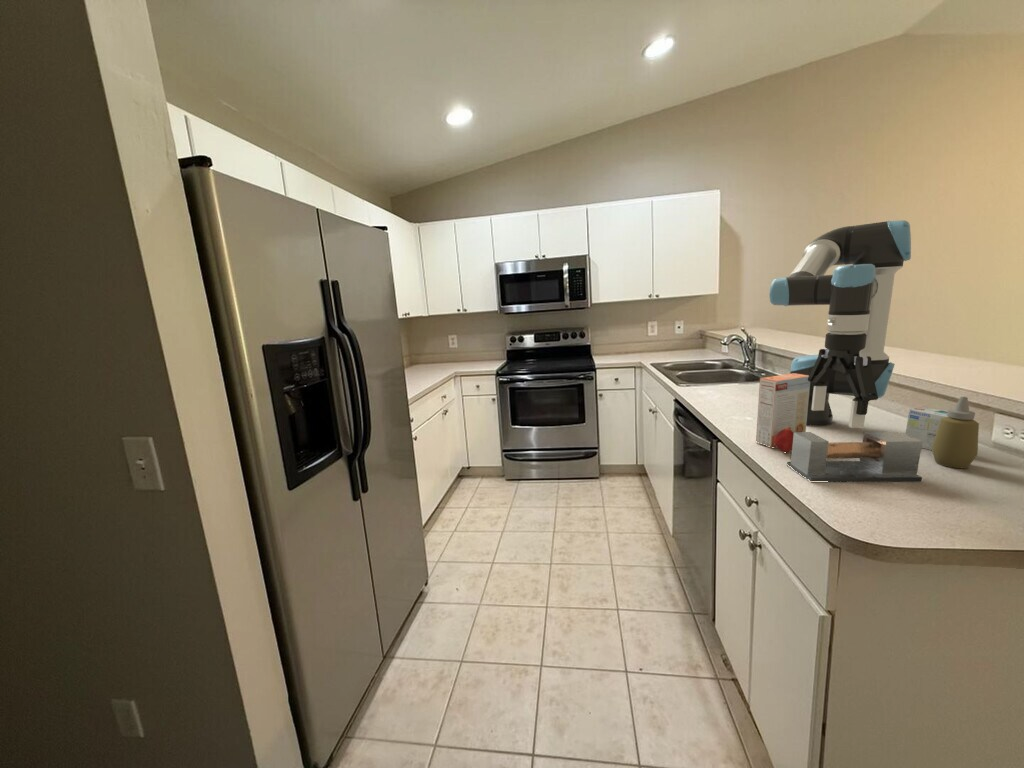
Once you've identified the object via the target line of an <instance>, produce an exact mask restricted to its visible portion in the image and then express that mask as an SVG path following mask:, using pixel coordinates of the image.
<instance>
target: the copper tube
mask: <svg viewBox="0 0 1024 768" xmlns="http://www.w3.org/2000/svg"><path fill="white" fill-rule="evenodd" d="M881 445H882V444H881V443H878V442H862V441H851V442H849V441H848V442H847V441H846V442H842V441H841V442H838V441H837V442H829V443H828V451H827V459H826V460H832V459H834V460H835V459H836V460H838V459H839V460H840V459H842V460H843V459H848V460H849V459H850V460H851V459H860V458H880V451H881Z"/></svg>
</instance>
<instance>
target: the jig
mask: <svg viewBox="0 0 1024 768" xmlns="http://www.w3.org/2000/svg"><path fill="white" fill-rule="evenodd" d="M905 434H906V433H905ZM905 434H904V433H902V432H900V431H867V432H866V431H864V432H863V435H862V441H861V442H878V443H881V444H882V445H881V451H880V458H859V460H830V461H828V459H827V451H828V443H830V442H829V440H827V439H825V438H824V437H821V436H819V435H817V434H815V433H813V432H811V431H806V432H794V436H793V445H792V451H791V456H790V457H791V458H790V461H787V462H786V465H787V464H788V465H789V466H791V467H792V468H793V469H794V470H795V471H797V472H798V473H800V474H801V475H802V476H804V477H806V478H807V479H809V480H810V481H828V482H827V483H920V482H921V483H922V482H923V476H921V475H920V474H918V469H919V464H920V458H921V454H922V453H921V451H922V448H921V447H922V442H923V441H921V440H918V439H915V438H913V437H910V436H907V435H905ZM794 470H793V471H794ZM795 471H794V472H795ZM798 473H797V474H798ZM801 475H800V476H801ZM802 476H801V477H802ZM804 477H803V478H804Z"/></svg>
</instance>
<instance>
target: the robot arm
mask: <svg viewBox="0 0 1024 768" xmlns="http://www.w3.org/2000/svg"><path fill="white" fill-rule="evenodd" d="M911 258H912V234H911V224H910V222H909V221H908V220H903V219H901V220H887V221H881V222H872V223H871V222H870V223H866V224H859V225H858V224H857V225H850V226H849V225H848V226H842V227H838V228H834V229H832V230H830V231H827V232H825V233H824V234H821V235H820V236H818V237H817V238H815V239H814V240H812V241H811V242H809V244H807V246H806V247H805V249H804V250H803V252H802V258H801V260H799V262H798V264H797V265H795V268H794V269H793V270H792V271H791V273H790V274H789V276H783V277H778V278H774V279H773V280H772V281H771V283H770V285H769V294H768V295H769V302H770V304H771V305H773V306H784V307H788V306H821V305H822V306H827V305H829V307H828V313H827V314H828V316H827V327H826V330H827V333H826V334H825V341H824V348H820V349H819V350H818V354H810V355H809V354H808V355H802V356H797V357H795V358H794V359H792V360H791V361H792V362H791V367H790V370H789V372H790V373H789V374H792V373H796V374H802V375H808V376H809V377H808V381H810V390H809V401H808V412H807V423H806V426H814V427H817V426H818V427H820V426H822V427H823V426H829V425H832V424H833V420H834V419H833V418H834V417H833V412H832V407H831V405H830V402H829V401H830V400H829V398H830V394H831V395H840V396H847V397H848V396H849V397H854V398H853V399H852V400H851V407H850V415H849V422H848V427H849V428H852V429H853V428H855V429H856V428H864V427H865V420H866V415H867V413H868V408H869V403H870V401H877V400H879V399H881V398H882V397H884V396H885V394H886V392H887V389H888V385H889V384H890V383H889V382H890V380H891V376H892V373H893V371H894V369H895V363H894V362H891V361H890V356H889V355H888V354H887V353H886V352H885V345H886V337H887V330H888V324H889V317H890V316H889V315H890V310H891V303H892V296H893V290H894V289H893V287H894V283H895V274H896V273H897V272H898V271H899V270H901V269H902V268H903V267H904V262H907V261H910V260H911ZM834 266H836V267H835V268H834V269H833V272H832V274H826V272H827V271H829V269H830V268H832V267H834Z"/></svg>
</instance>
